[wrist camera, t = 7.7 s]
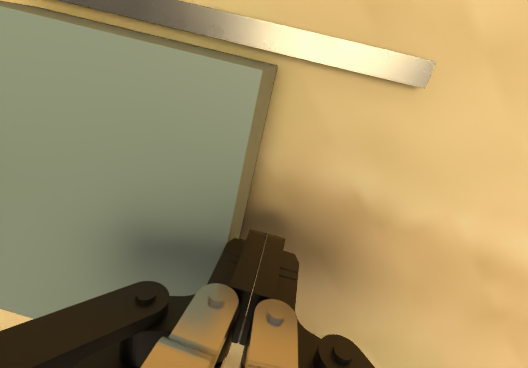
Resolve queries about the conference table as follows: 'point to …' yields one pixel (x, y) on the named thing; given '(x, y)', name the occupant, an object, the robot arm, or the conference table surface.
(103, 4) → the vise
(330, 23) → the conference table surface
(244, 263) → the robot arm
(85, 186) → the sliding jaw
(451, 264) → the conference table surface
